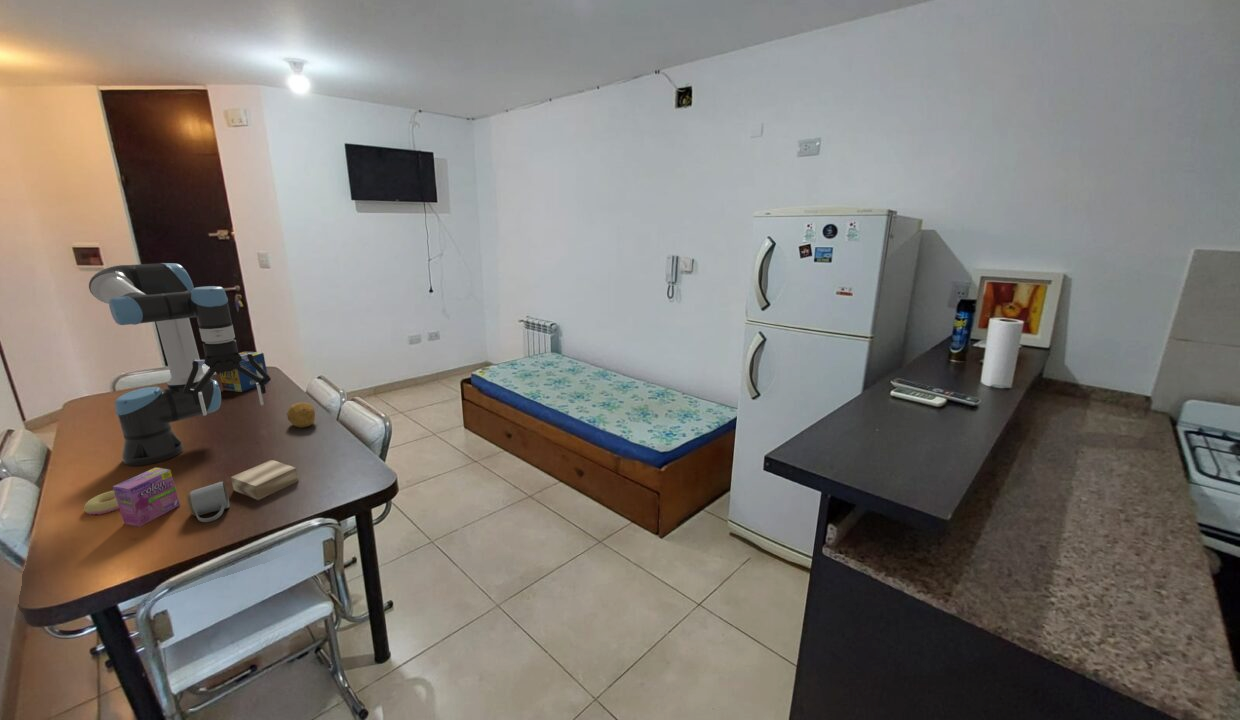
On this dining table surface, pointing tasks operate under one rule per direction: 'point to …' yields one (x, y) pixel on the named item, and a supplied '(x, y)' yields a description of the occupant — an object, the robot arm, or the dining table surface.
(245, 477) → the maple block
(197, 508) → the ceramic mug
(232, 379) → the protein box
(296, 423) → the potato
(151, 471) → the box
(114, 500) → the donut
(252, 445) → the dining table surface
